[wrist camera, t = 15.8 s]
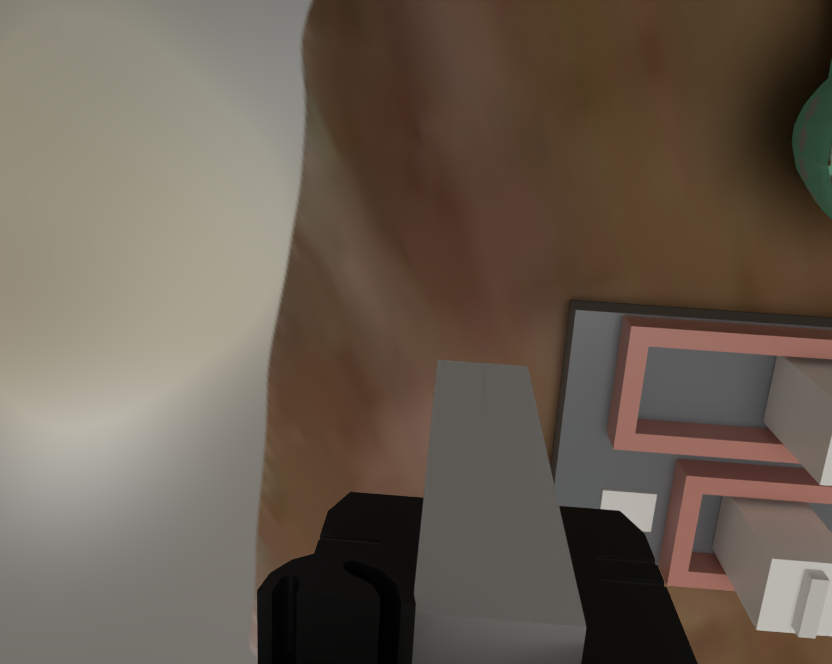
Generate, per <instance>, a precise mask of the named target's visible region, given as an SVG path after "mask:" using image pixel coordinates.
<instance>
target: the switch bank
mask: <svg viewBox="0 0 832 664" xmlns="http://www.w3.org/2000/svg"><path fill="white" fill-rule="evenodd" d="M777 356H790V357H805V358H819V359H832V318H825V317H810V316H796V315H781V314H766V313H752V312H737V311H722V310H708V309H693V308H679V307H664V306H649V305H635V304H620V303H606V302H591V301H576V300H571V303H570V312H569V320H568V328H567V337H566V345H565V353H564V362H563V370H562V379H561V387H560V395H559V404H558V412H557V420H556V429H555V437H554V446H553V454H552V462H551V473H552V477H553V482H554V486H555V490H556V495H557V499H558V504H559V506H568V507H581V508H593V509H606V510H618V511H621V512H622V513H623V514H624V515H625V516H626V517H627V518H628V519H629V520H630V521H632V522H633V523H634V524H635V525H636V526H637V527H638V528H639V529H640V530H641V531H642V532H643V533H645V535H646V538H647V540H648V543H649V545H650V548H651V550H652V553H653V555H654V558H655V565H658V566H659V567H660V570H661V572H662V575H663V577H664V579H665V582H666V584H667V586H679V587H691V588H703V589H715V590H727V591H735V590H734V588H733V586H732V584H731V582H730V580H729V579H728V577H727V575H726V573H725V571H724V569H723V568H722V566H721V564H720V562H719V560H718V558H717V556H716V555H715V553H714V551H713V549H712V547H713V542H714V537H715V532H716V526H717V521H718V516H719V511H720V506H721V501H722V496H733V497H746V498H759V499H772V500H785V501H797V502H806V503H807V504H808V505H809V506H810V507H811V509H812V510H813V511H814V512H815V513H816V515H817V516H818V517H819V518H820V519H821V521H822V522H823V523H824V524H825V525H826V527H827V528H828V529H829V530H830V531H831V533H832V486H825V485H819V484H818V482H817V481H816V480H815V479H814V478H813V477H812V476H811V475H810V474H809V472H808V471H807V470H806V469H805V468H804V467H803V466H802V465H801V464H800V462H799V461H798V460H797V459H796V458H795V457H794V456H793V455H792V454H791V452H790V451H789V450H788V449H787V448H786V447H785V446H784V445H783V444H782V442H781V441H780V440H779V439H778V438H777V437H776V436H775V435H774V434H773V432H772V431H771V430H770V429H769V428H768V427H767V426H766V425H765V424H764V422H763V420H764V415H765V410H766V405H767V401H768V396H769V391H770V386H771V381H772V376H773V372H774V367H775V362H776V357H777Z"/></svg>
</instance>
